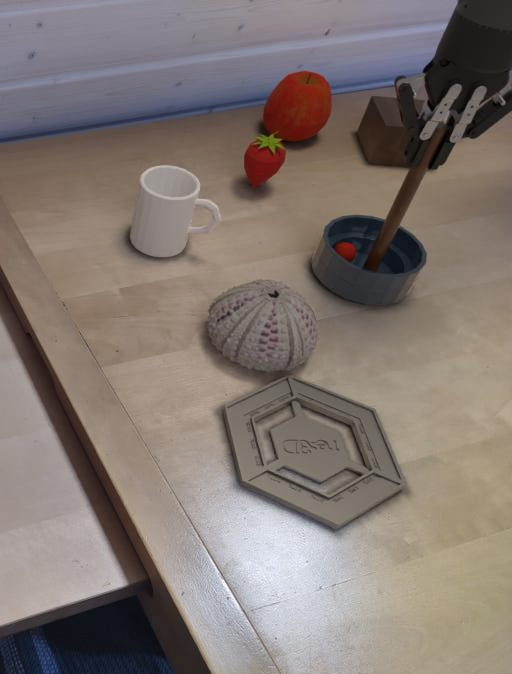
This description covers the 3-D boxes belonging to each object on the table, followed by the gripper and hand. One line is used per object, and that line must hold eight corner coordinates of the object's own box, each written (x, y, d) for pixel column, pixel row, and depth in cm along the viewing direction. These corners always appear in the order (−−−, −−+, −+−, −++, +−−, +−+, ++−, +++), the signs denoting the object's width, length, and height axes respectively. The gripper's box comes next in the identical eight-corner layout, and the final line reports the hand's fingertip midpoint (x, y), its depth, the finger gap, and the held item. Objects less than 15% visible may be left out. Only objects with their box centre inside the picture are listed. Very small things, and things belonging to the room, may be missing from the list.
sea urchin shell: (289, 398, 83) (312, 351, 77) (183, 350, 87) (197, 302, 82) (324, 332, 91) (347, 285, 85) (225, 291, 95) (240, 243, 89)
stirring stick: (370, 274, 96) (445, 121, 80) (373, 282, 95) (450, 129, 79) (356, 273, 96) (429, 120, 80) (360, 281, 95) (434, 128, 79)
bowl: (395, 250, 103) (411, 219, 99) (420, 313, 94) (439, 281, 90) (303, 242, 103) (315, 210, 99) (319, 303, 94) (333, 271, 90)
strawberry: (281, 182, 114) (301, 125, 106) (263, 204, 109) (282, 146, 102) (247, 170, 116) (264, 112, 108) (228, 190, 111) (244, 132, 104)
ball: (352, 269, 98) (364, 250, 97) (338, 258, 97) (350, 239, 96) (338, 266, 101) (349, 248, 100) (323, 255, 99) (335, 237, 99)
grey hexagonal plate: (358, 381, 85) (361, 376, 84) (421, 531, 71) (424, 526, 71) (214, 377, 84) (216, 372, 84) (250, 527, 71) (252, 523, 70)
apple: (310, 156, 119) (332, 96, 112) (249, 136, 123) (266, 77, 115) (328, 129, 126) (350, 70, 118) (269, 111, 129) (287, 53, 122)
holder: (413, 138, 125) (431, 100, 120) (429, 169, 118) (449, 130, 113) (356, 133, 125) (371, 95, 120) (368, 163, 119) (385, 125, 113)
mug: (198, 275, 97) (215, 216, 90) (120, 244, 101) (130, 185, 94) (220, 245, 102) (237, 186, 95) (144, 216, 106) (155, 158, 99)
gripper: (437, 21, 68) (367, 178, 81) (584, 32, 67) (491, 188, 80) (416, -9, 73) (354, 143, 86) (553, 2, 73) (470, 153, 85)
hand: (420, 164), depth 83 cm, fingers closed on stirring stick, 2 cm apart
